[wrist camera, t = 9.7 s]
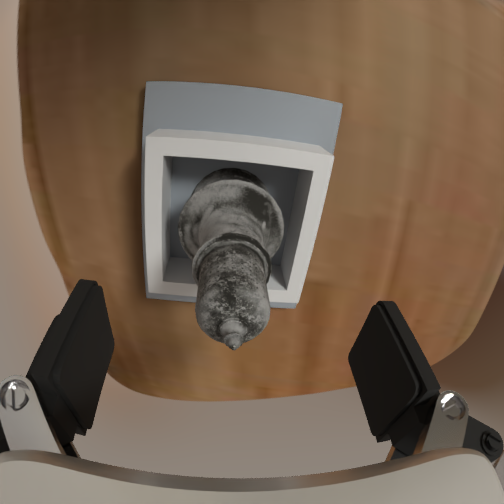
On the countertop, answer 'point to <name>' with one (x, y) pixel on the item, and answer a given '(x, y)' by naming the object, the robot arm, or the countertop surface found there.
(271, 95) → the holder
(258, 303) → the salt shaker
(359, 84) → the countertop surface
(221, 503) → the robot arm
